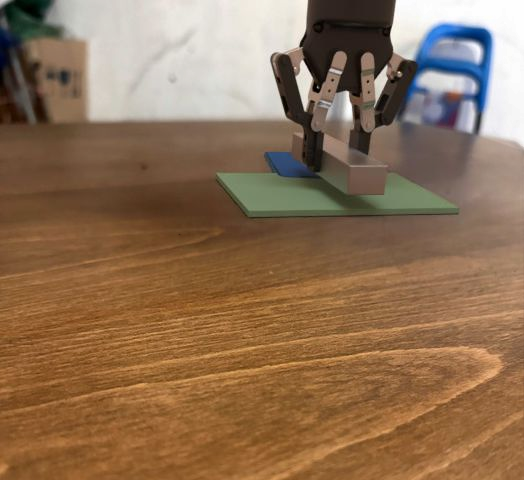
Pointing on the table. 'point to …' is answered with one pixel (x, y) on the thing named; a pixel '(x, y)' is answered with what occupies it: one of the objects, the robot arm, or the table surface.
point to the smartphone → (288, 166)
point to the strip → (346, 167)
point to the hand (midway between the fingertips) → (333, 170)
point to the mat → (326, 197)
